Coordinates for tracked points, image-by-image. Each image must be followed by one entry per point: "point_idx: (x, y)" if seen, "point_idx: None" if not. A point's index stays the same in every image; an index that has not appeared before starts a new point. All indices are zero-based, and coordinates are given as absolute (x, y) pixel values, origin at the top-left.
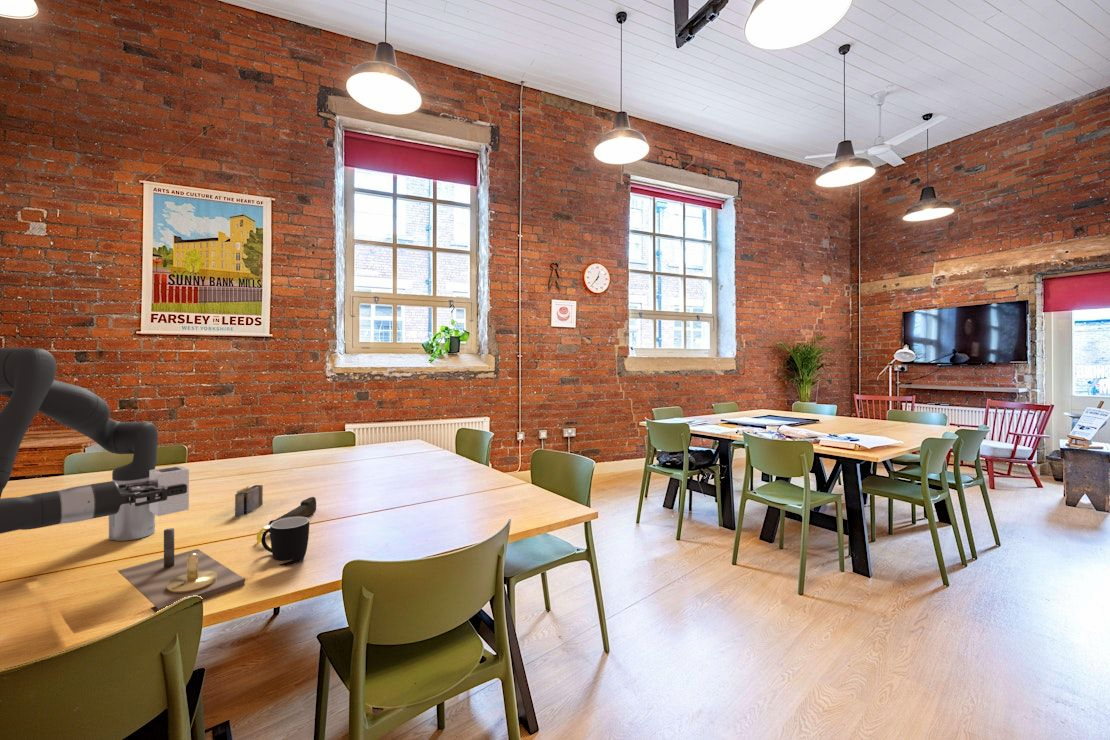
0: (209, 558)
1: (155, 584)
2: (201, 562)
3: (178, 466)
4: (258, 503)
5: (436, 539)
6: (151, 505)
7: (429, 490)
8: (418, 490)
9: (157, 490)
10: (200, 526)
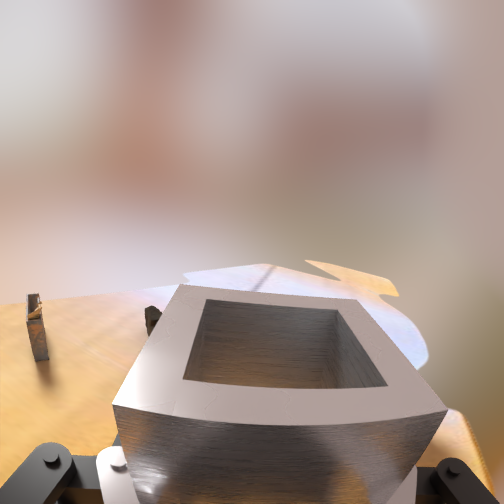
0: None
1: None
2: None
3: (199, 291)
4: (43, 327)
5: (387, 327)
6: None
7: (221, 272)
8: (209, 274)
9: (466, 496)
10: (12, 402)
